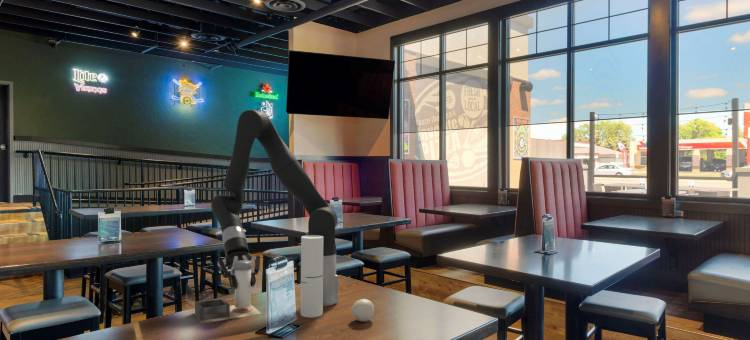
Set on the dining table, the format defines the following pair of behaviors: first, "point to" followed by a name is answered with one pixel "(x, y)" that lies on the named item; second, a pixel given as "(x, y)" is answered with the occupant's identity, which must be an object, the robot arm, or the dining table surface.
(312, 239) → the cylindrical container
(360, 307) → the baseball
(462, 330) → the dining table surface
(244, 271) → the cylinder
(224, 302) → the socket board
